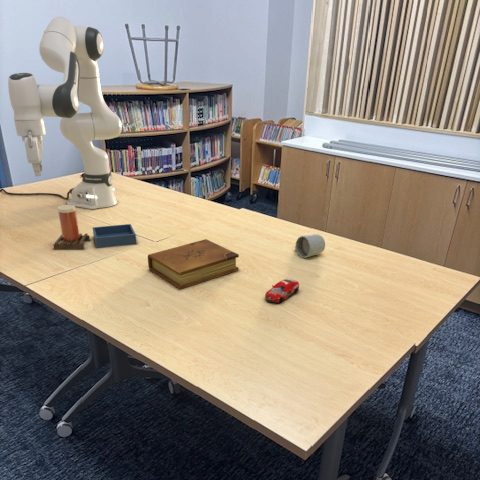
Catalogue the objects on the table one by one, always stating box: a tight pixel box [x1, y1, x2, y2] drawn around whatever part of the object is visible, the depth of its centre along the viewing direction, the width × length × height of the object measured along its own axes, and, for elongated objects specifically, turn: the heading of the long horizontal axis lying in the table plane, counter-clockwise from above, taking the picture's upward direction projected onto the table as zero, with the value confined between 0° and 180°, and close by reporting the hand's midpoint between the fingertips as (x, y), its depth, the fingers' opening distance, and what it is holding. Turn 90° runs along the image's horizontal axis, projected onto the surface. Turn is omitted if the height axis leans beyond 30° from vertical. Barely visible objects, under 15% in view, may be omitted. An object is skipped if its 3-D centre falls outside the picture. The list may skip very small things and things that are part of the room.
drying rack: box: [52, 233, 91, 250], centre depth 175 cm, size 10×10×2 cm
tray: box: [92, 223, 138, 249], centre depth 179 cm, size 14×12×4 cm
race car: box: [264, 278, 300, 304], centre depth 141 cm, size 13×5×4 cm, turn 140°
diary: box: [147, 238, 240, 290], centre depth 156 cm, size 23×19×6 cm
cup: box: [57, 204, 80, 242], centre depth 172 cm, size 6×6×12 cm
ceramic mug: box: [294, 233, 326, 259], centre depth 170 cm, size 11×8×8 cm
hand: (39, 173), depth 161 cm, fingers open, 8 cm apart
